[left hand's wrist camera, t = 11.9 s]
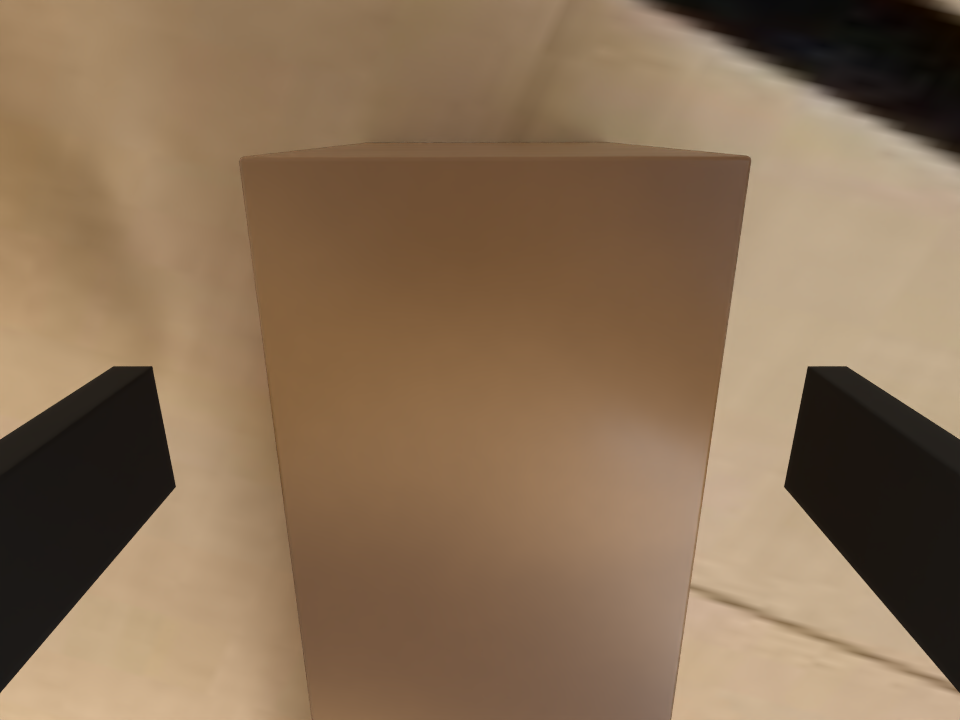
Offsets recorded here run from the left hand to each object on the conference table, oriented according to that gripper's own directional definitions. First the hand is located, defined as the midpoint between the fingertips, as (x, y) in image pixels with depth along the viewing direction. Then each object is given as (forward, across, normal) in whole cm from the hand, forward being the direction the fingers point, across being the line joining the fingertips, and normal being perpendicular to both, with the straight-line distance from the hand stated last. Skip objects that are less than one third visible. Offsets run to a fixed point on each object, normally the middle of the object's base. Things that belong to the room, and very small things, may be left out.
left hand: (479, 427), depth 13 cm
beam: (+4, 0, -33) cm, 33 cm away
